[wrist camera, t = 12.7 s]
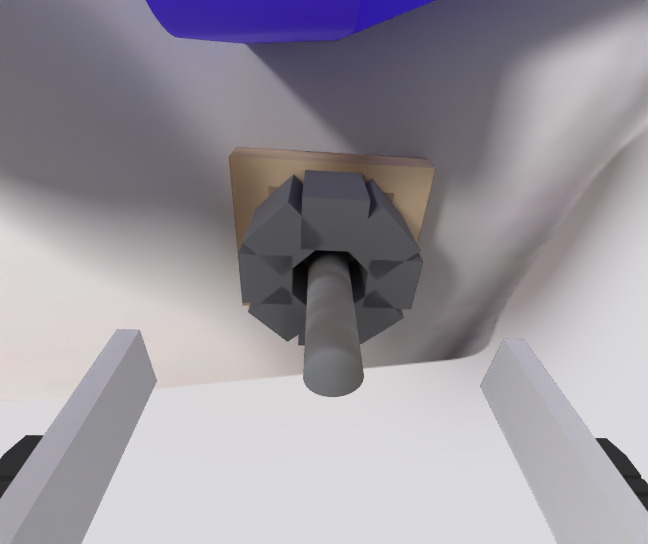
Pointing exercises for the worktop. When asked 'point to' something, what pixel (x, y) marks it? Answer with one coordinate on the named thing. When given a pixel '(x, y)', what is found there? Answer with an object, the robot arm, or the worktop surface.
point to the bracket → (274, 18)
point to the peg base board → (329, 266)
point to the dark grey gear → (331, 235)
